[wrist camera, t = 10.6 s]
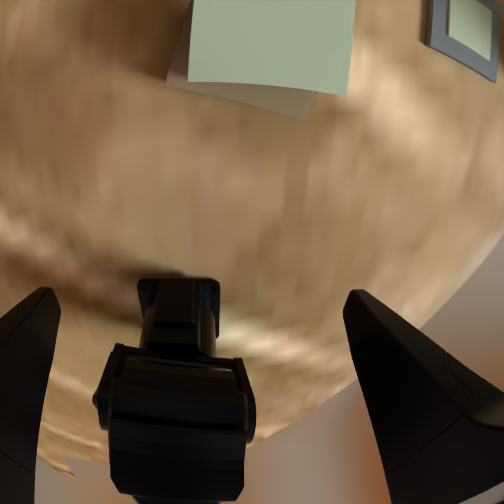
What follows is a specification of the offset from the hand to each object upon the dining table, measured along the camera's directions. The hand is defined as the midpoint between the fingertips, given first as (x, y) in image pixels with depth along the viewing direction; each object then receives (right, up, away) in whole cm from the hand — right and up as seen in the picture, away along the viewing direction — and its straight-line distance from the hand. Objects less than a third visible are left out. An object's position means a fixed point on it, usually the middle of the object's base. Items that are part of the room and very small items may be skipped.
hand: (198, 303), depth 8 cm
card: (+18, +19, +4) cm, 26 cm away
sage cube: (+2, +11, +3) cm, 12 cm away
